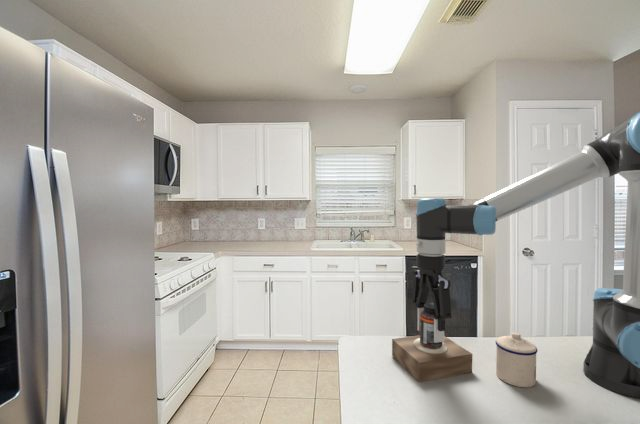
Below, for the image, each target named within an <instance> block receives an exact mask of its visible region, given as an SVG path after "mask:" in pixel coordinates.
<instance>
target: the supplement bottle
mask: <svg viewBox="0 0 640 424" xmlns="http://www.w3.org/2000/svg"><path fill="white" fill-rule="evenodd" d="M434 317H436V313H435V308H434V303H433V302H426V304H424V310H423V311H422V312H421V314H420V331H419V335H420V343H421V344H422V345H423V346H424V347H426V348H429V349H438V348H441V347H442V342H437V343H435V342H434Z"/></svg>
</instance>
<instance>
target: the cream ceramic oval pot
mask: <svg viewBox="0 0 640 424" xmlns="http://www.w3.org/2000/svg"><path fill="white" fill-rule="evenodd" d="M495 345H496V351H495V352H496V356H495V357H496V358H495V360H496V366H495V367H496V368H495V371H496V376H497V377H498V378H499V379H500V380H501V381H502V382H504V383H506V384H509V385H511V386H515V387H518V388H531V387H534V386H535V385H536V383H537V382H536V381H537V380H536V379H537V353H538V347H537V346H536V345H535V344H534V343H533V342H532V341H530V340H527V339H525V338H524V337H522V335H521V334H520V333H519V332H511V334H510V335H503V336H499V337H497V338H496V340H495Z"/></svg>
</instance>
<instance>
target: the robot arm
mask: <svg viewBox="0 0 640 424" xmlns="http://www.w3.org/2000/svg"><path fill="white" fill-rule="evenodd" d="M615 175H619V176H621V177H622V178H623V179H625V180H626V181H627V191H626V192H627V193H626V195H627V196H626V215H625V231H624V232H625V234H624V236H625V237H624V254H623V255H624V256H623V257H624V258H623V259H624V260H623V279H622V289H621V288H612V287H611V288H610V287H609V288H608V287H600V288H596V289H595V290H594V293H593V298H592V301H593V310H592V311H593V314H592V316H593V319H592V344H591V346H590V349H589V350H588V353H587V354H586V356H585V358H584V361H583V364H582V365H583V366H582V367H583V368H582V369H583V370H582V371H583V374H584V375H585V376H586V377H587V378H588V379H589V380H590V381H592V382H594V383H596V384H598V385H599V386H601V387H603V388H606V389H607V390H610V391H613V392H615V393H618V394H622V395H624V396H629V397H633V398H637V399H640V111H638V112H637V113H635V114H634V115H633V116H632V117H630V118H628V119H626V120H624V121H622V122H621V123H620V124H618V125H617V126H615V127H614V128H612V129H611V130H610V131H608V132H606V133H605V134H603V135H602V136H600V137H598V138H597V139H595V140H592V141H591V142H589V143H588V144H585V145H584V146H583V148H582V150H581V151H580V152H577V153H576V154H573V155H572V156H569V157H567V158H564V159H562V160H561V161H558V162H556V163H554V164H553V165H550V166H548V167H546V168H544V169H542V170H540V171H537V172H535V173H534V174H531V175H529V176H527V177H525V178H523V179H521V180H519V181H517V182H514V183H512V184H510V185H509V186H508V185H507V186H506V187H504V188H502V189H500V190H498V191H496V192H494V193H492V194H490V195H487V196H486V197H485V196H484V197H483V198H481V199H478V200H477V201H475V202H472V203H470V204H468V205H448V204H447V202H446V198H444V197H443V198H441V197H440V198H439V197H438V198H435V197H434V198H420V199H418V200H417V202H416V203H417V205H416V214H415V215H416V216H415V217H416V253H417V254H416V263H415V264H416V268H418V269H415V270H413V271H412V272H413V273H412V274H413V287H412V299H411V300H412V303H413V304H415V306H416V316H417V331H418V332H420V314H421V312H422V311H423V310H424V304H426V303H427V299H428V297H429V296H428V295H429V293H430V294H431V297H432V298H431V299H432V303H434V308H435V313H436V317H434V342H435V343H437V342H444V336H445V331H446V319H447V320H448V319H452V306H451V305H452V303H451V291H450V290H451V289H450V288H451V280H450V279H445V278H444V277H443V273H442V271H443V270H444V269H446V255H445V254H446V234H457V235H459V234H460V235H476V236H477V235H478V236H483V235H487V236H488V235H489V236H490V235H491V236H492V235H494V234H495V233H496V230H497V229H496V227H497V226H496V225H497V223H496V222H498V221H500V220H503V219H505V218H508V217H510V216H512V215H513V214H517V213H519V212H521V211H523V210H526V209H528V208H530V207H533V206H536V205H537V204H540V203H542V202H544V201H547V200H549V199H551V198H554V197H556V196H558V195H561V194H563V193H566V192H568V191H570V190H572V189H574V188H577V187H579V186H582V185H583V184H586V183H588V182H590V181H593V180H595V179H596V180H597V178H603V179H608V178H610V177H612V176H613V177H614V176H615Z"/></svg>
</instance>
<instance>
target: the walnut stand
mask: <svg viewBox="0 0 640 424" xmlns="http://www.w3.org/2000/svg"><path fill="white" fill-rule="evenodd" d="M391 346H392V347H391V355H392V357H393V358H394V359H395V360H396V361H397V362H398V363H399V364H400V365H401V366H402V367H403V368H404V369H405V370H406V371H407V372H408V373H409V374H410V375H412V376H413V377H414V378H415V380H416V381H417V382H419V383H423V382H427V381H431V380H438V379H439V380H440V379H443V378H448V377H454V376H460V375H465V374H470V373H473V353H472V352H470V351H469V350H467V349H466V348H464V347H462V346H461V345H459V344H458V343H456V342H454V341H453V340H451V339H450V338H448V337H447V336H445V335H444V342H442V347H441V348H438V349H429V348H426V347H424V346H423V345H422V344H421V343H420V334H417V335H412V336H411V335H410V336H405V337H398V338H392V340H391Z"/></svg>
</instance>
